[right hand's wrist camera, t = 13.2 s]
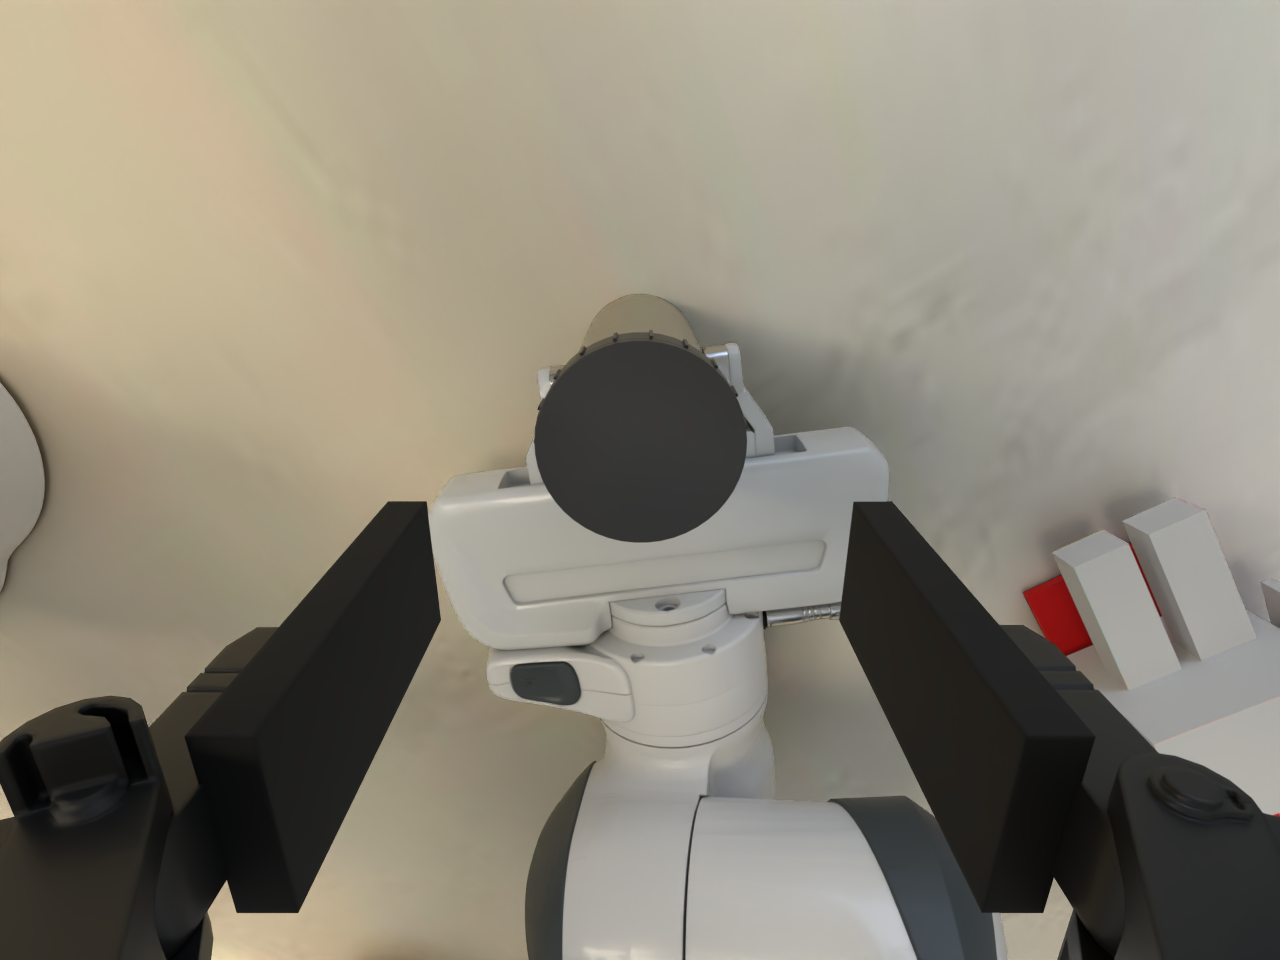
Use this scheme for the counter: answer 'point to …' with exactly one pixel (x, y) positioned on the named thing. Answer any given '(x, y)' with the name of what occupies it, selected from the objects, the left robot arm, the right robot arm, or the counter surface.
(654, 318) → the jar
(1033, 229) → the counter surface
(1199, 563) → the toy
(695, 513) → the lid
